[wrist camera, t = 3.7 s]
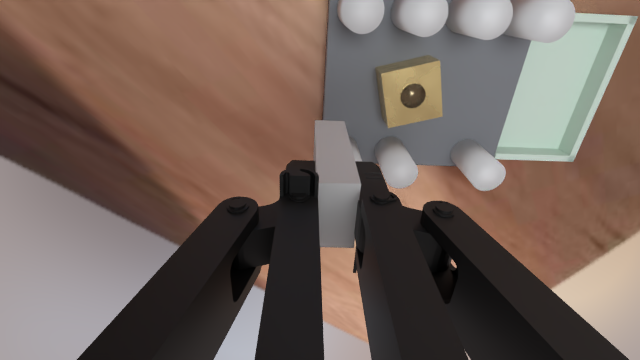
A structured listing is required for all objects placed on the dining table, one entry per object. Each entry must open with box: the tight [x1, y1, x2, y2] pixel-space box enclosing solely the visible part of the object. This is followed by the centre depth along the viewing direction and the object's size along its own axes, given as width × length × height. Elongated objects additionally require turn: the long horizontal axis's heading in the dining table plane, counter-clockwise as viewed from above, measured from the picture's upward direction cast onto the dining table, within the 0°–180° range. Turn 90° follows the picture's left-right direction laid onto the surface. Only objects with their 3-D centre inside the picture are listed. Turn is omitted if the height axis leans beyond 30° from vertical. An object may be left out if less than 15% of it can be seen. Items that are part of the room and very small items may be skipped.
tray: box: [494, 13, 638, 162], centre depth 31 cm, size 8×13×2 cm, turn 177°
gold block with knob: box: [375, 55, 443, 128], centre depth 29 cm, size 5×5×3 cm
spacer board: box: [322, 0, 575, 191], centre depth 29 cm, size 17×15×7 cm
